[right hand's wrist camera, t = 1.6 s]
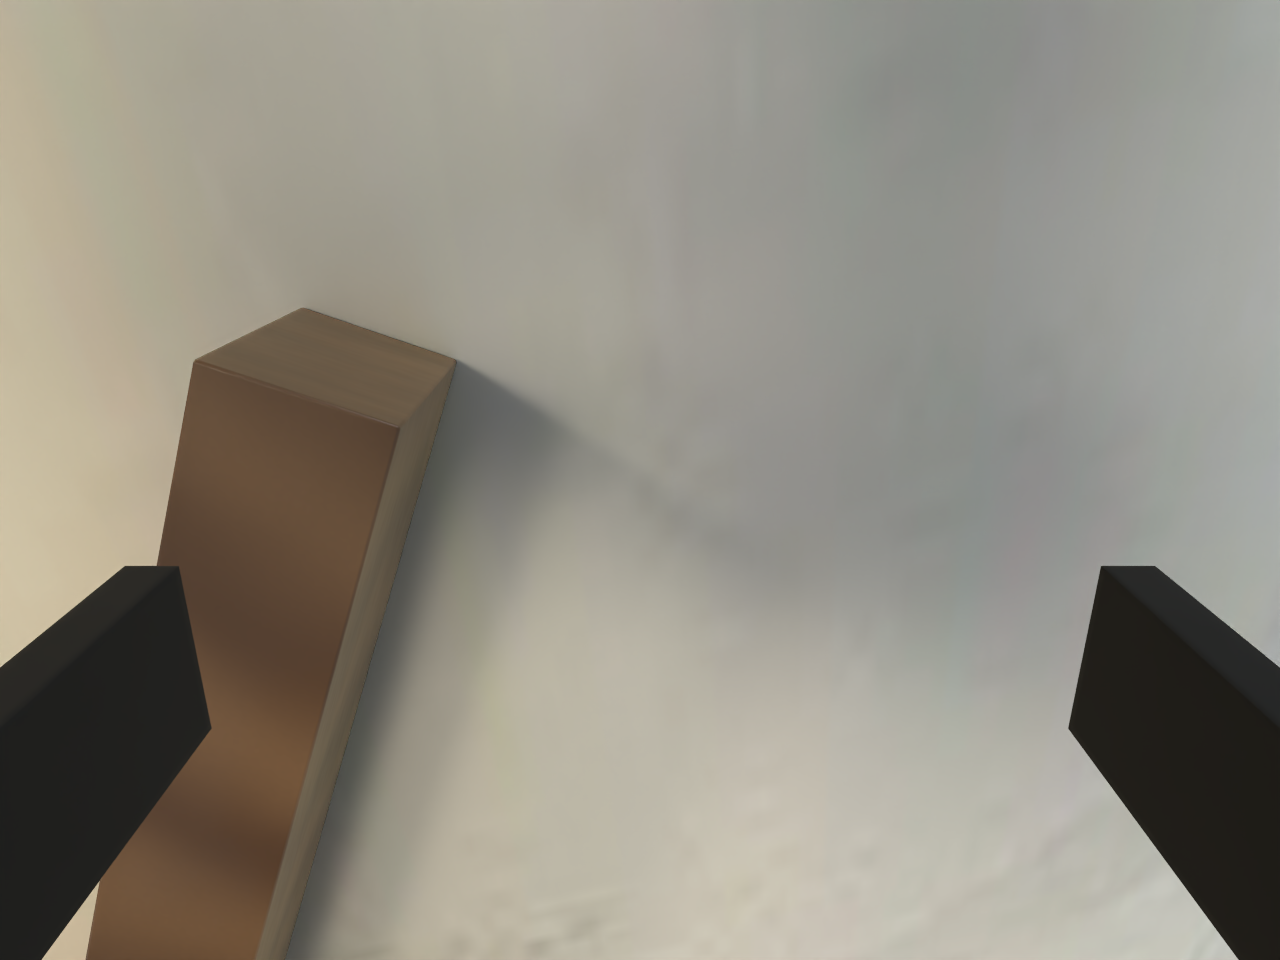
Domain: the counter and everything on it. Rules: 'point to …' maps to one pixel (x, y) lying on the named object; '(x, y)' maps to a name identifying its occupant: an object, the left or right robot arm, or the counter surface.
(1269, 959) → the right robot arm
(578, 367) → the counter surface
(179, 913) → the bar
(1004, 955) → the counter surface
